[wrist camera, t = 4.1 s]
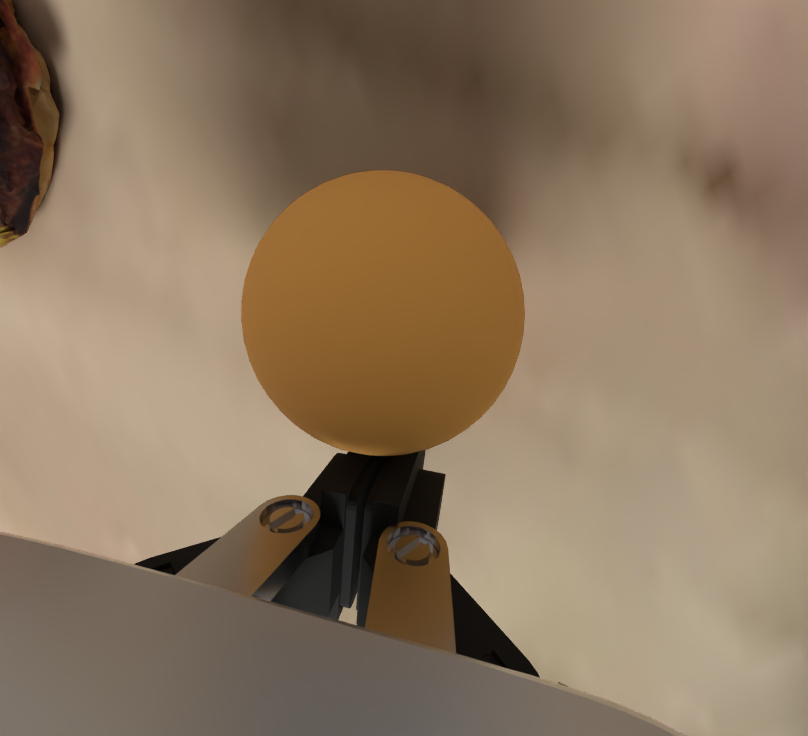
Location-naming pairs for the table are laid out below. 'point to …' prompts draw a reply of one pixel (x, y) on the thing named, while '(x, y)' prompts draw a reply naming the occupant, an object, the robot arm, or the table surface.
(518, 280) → the ball
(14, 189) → the burger
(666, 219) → the table surface
